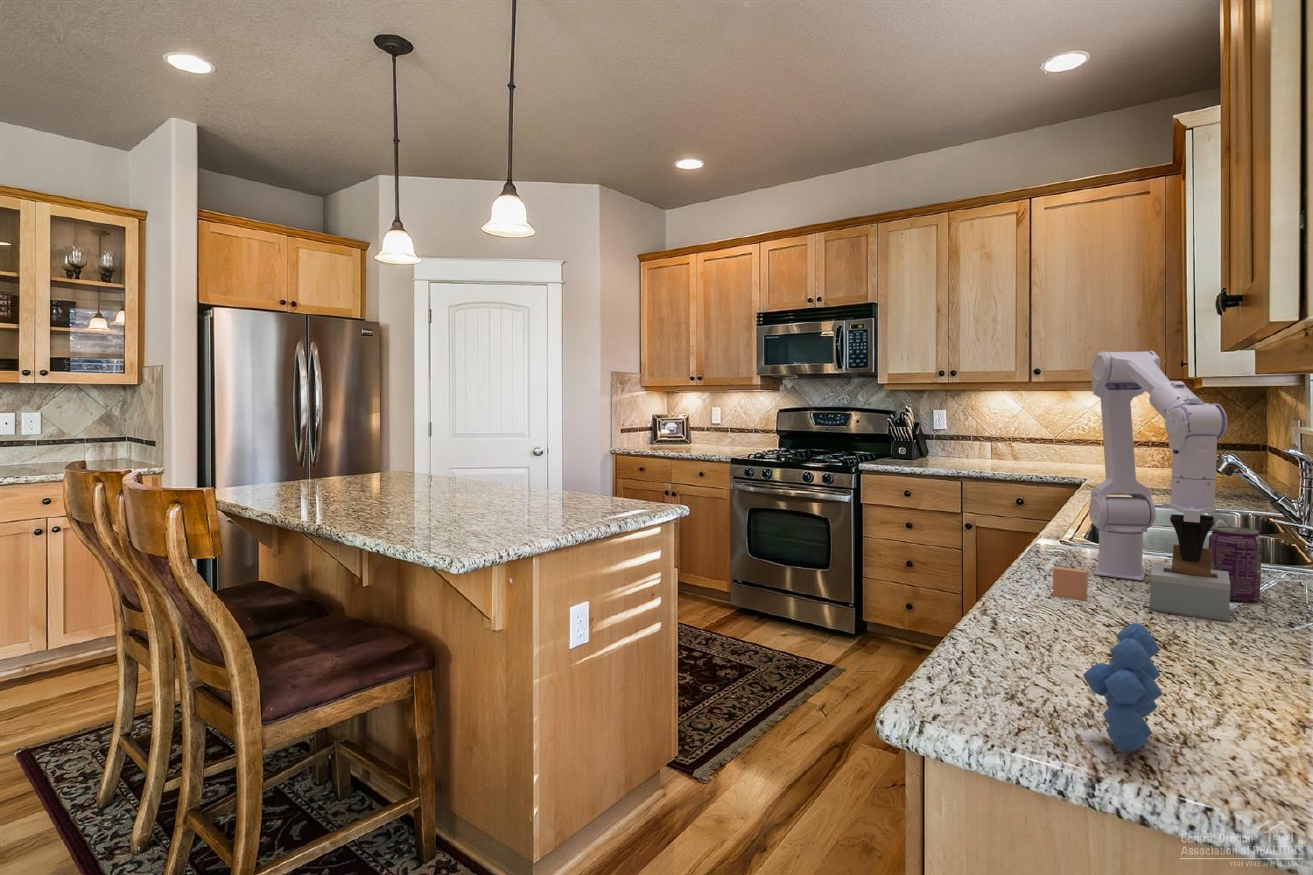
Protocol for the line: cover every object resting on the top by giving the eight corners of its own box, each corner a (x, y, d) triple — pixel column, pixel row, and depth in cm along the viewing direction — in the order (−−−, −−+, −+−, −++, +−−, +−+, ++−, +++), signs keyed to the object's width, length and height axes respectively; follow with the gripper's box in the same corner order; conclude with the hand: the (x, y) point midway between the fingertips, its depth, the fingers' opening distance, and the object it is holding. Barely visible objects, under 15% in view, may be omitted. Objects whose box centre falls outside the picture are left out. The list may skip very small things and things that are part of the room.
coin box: (1152, 596, 121) (1154, 562, 120) (1226, 606, 114) (1228, 571, 114) (1149, 610, 113) (1151, 574, 113) (1228, 622, 107) (1230, 584, 106)
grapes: (1094, 711, 76) (1097, 605, 76) (1169, 731, 72) (1173, 618, 71) (1066, 750, 68) (1070, 630, 67) (1150, 775, 63) (1154, 647, 63)
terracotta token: (1054, 593, 123) (1055, 566, 123) (1087, 598, 120) (1087, 570, 120) (1052, 596, 122) (1053, 568, 121) (1085, 601, 118) (1086, 572, 118)
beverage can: (1239, 592, 123) (1242, 526, 123) (1270, 603, 116) (1273, 533, 116) (1197, 591, 124) (1199, 525, 123) (1225, 602, 117) (1228, 532, 116)
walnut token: (1171, 573, 116) (1173, 544, 115) (1209, 579, 113) (1212, 549, 112) (1171, 575, 114) (1173, 546, 114) (1209, 581, 111) (1212, 551, 111)
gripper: (1164, 472, 121) (1162, 549, 121) (1161, 480, 109) (1158, 564, 110) (1216, 475, 116) (1213, 554, 117) (1218, 483, 105) (1215, 570, 106)
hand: (1190, 559), depth 113 cm, fingers closed on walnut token, 2 cm apart
